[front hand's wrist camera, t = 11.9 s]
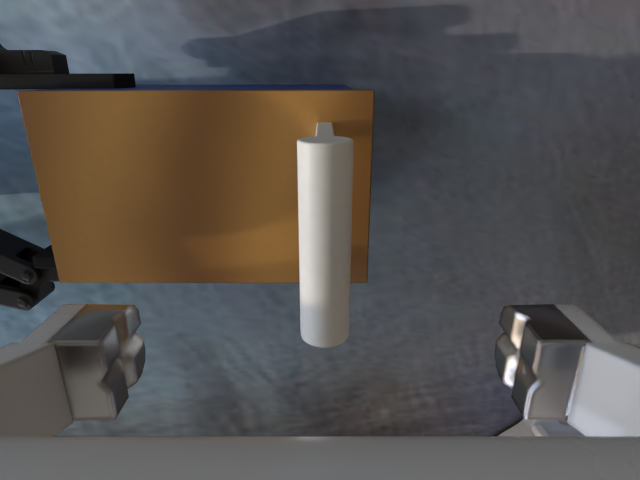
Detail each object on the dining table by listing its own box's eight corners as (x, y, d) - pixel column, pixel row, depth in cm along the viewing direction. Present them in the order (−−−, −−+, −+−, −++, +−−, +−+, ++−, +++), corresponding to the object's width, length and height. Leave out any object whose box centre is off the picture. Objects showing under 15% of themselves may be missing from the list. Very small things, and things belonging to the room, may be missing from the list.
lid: (372, 89, 21) (403, 100, 13) (365, 274, 24) (387, 377, 16) (30, 90, 21) (-155, 101, 13) (70, 274, 25) (-58, 376, 16)
